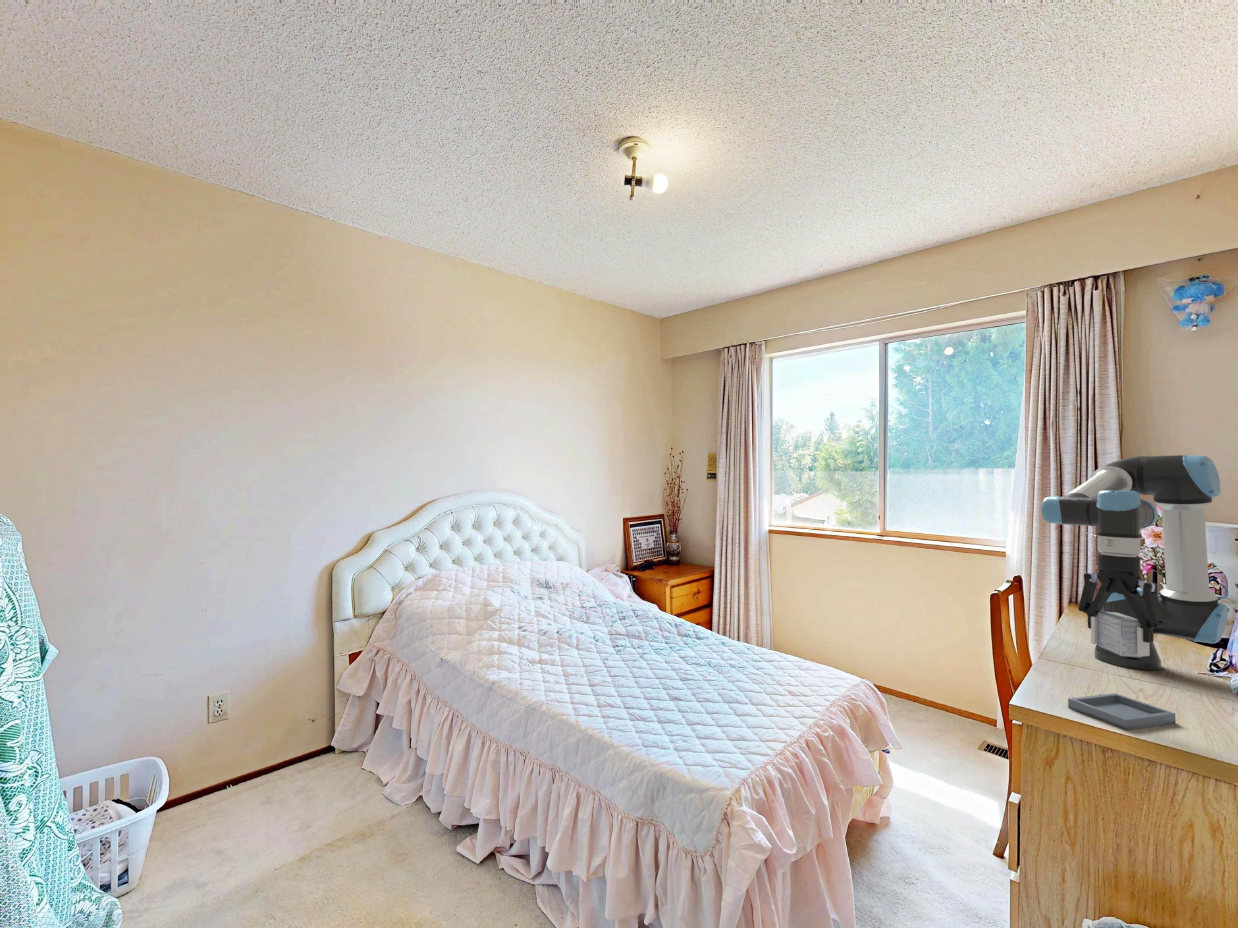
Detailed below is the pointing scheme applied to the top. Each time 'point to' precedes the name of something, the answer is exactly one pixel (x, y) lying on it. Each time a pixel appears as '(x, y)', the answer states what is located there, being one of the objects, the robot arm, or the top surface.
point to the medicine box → (1118, 633)
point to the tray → (1122, 711)
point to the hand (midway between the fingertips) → (1119, 649)
